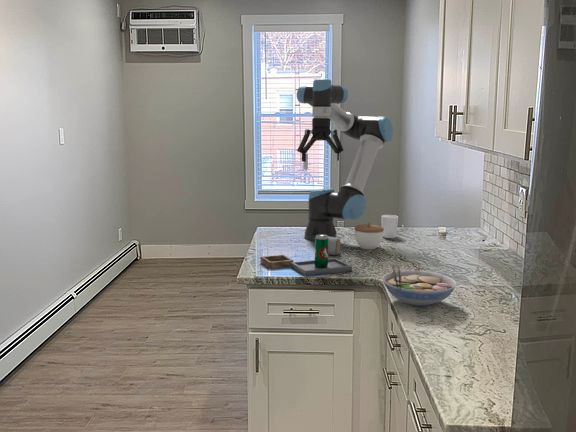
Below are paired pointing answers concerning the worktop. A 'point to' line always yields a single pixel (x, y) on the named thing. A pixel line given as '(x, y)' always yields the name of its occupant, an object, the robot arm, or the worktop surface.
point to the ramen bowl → (418, 286)
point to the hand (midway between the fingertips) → (320, 169)
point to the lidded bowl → (368, 235)
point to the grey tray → (309, 268)
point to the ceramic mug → (333, 246)
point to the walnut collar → (276, 261)
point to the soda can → (321, 251)
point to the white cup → (389, 225)
